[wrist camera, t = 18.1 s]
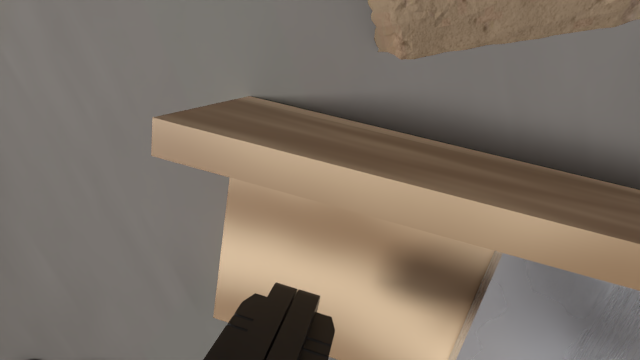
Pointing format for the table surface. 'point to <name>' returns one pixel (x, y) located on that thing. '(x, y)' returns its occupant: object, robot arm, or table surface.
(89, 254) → the table surface
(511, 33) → the clay tablet
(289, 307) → the robot arm
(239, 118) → the rack
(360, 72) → the table surface
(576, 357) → the bookend
